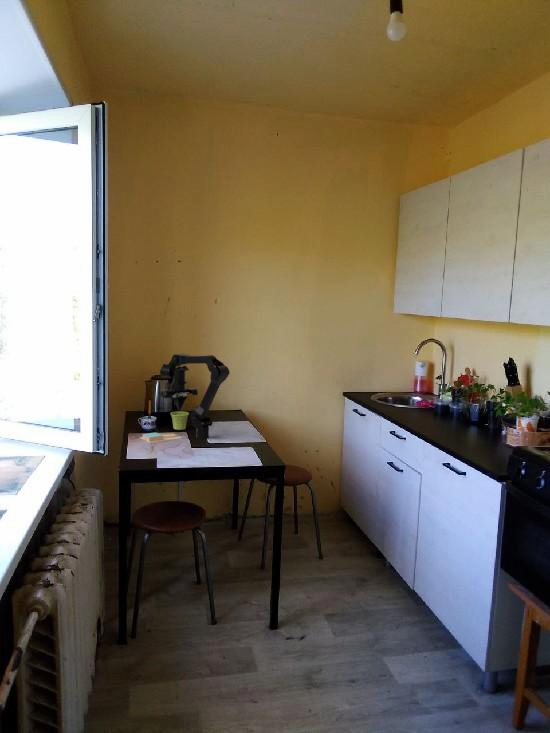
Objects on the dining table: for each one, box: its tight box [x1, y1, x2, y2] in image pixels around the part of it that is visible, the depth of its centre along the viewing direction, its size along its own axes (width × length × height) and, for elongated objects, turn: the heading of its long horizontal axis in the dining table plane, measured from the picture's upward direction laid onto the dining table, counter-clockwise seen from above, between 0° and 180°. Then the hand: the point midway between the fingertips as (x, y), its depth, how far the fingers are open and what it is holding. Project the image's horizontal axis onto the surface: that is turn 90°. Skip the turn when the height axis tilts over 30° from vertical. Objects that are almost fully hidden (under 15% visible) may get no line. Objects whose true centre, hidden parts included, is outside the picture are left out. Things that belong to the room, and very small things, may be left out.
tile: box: [142, 432, 163, 443], centre depth 260 cm, size 7×2×7 cm
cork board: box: [139, 432, 183, 444], centre depth 263 cm, size 12×17×1 cm
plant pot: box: [170, 411, 190, 431], centre depth 283 cm, size 9×9×9 cm
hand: (179, 409), depth 272 cm, fingers closed
